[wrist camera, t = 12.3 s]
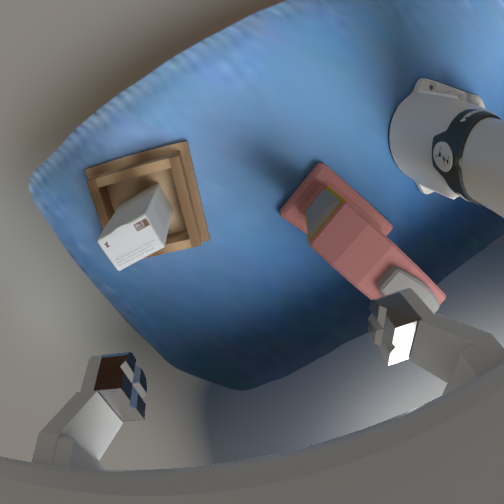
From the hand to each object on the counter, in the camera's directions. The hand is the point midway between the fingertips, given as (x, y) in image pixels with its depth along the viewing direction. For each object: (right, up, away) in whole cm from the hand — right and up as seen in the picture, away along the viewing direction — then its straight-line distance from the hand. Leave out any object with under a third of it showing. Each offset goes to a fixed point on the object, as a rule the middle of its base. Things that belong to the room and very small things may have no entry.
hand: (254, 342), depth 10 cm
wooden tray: (-14, +9, +31) cm, 35 cm away
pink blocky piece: (+13, +8, +36) cm, 39 cm away
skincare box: (-14, +9, +30) cm, 34 cm away
